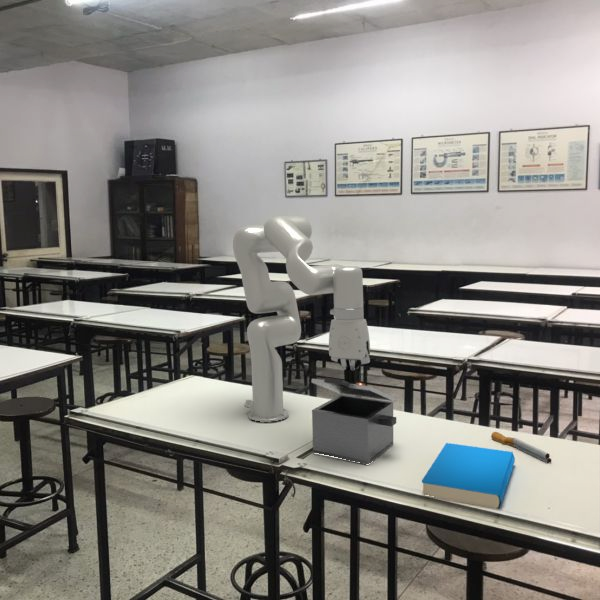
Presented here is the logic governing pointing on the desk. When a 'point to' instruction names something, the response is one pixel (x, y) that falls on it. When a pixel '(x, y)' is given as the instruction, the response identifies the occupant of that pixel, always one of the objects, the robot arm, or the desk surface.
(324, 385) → the cooker lid
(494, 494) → the book
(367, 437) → the grey open box
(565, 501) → the desk surface
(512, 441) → the orange and grey rod
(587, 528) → the desk surface
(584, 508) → the desk surface
